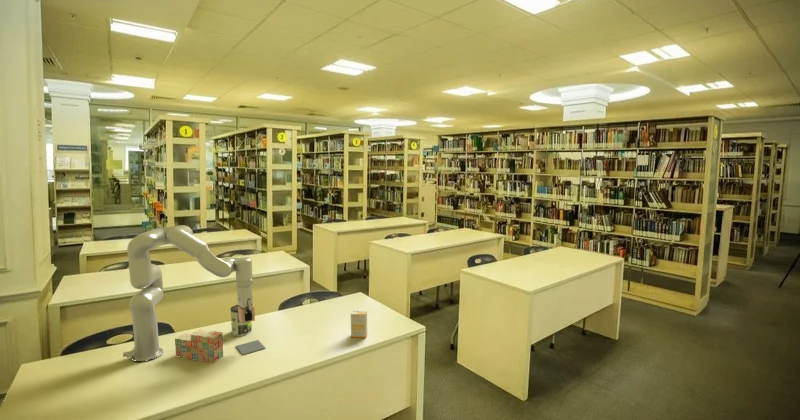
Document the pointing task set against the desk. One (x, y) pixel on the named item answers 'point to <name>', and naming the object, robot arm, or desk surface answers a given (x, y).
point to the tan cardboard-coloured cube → (242, 314)
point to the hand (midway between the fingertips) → (246, 318)
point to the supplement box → (359, 324)
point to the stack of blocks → (200, 345)
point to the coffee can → (239, 323)
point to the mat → (250, 347)
